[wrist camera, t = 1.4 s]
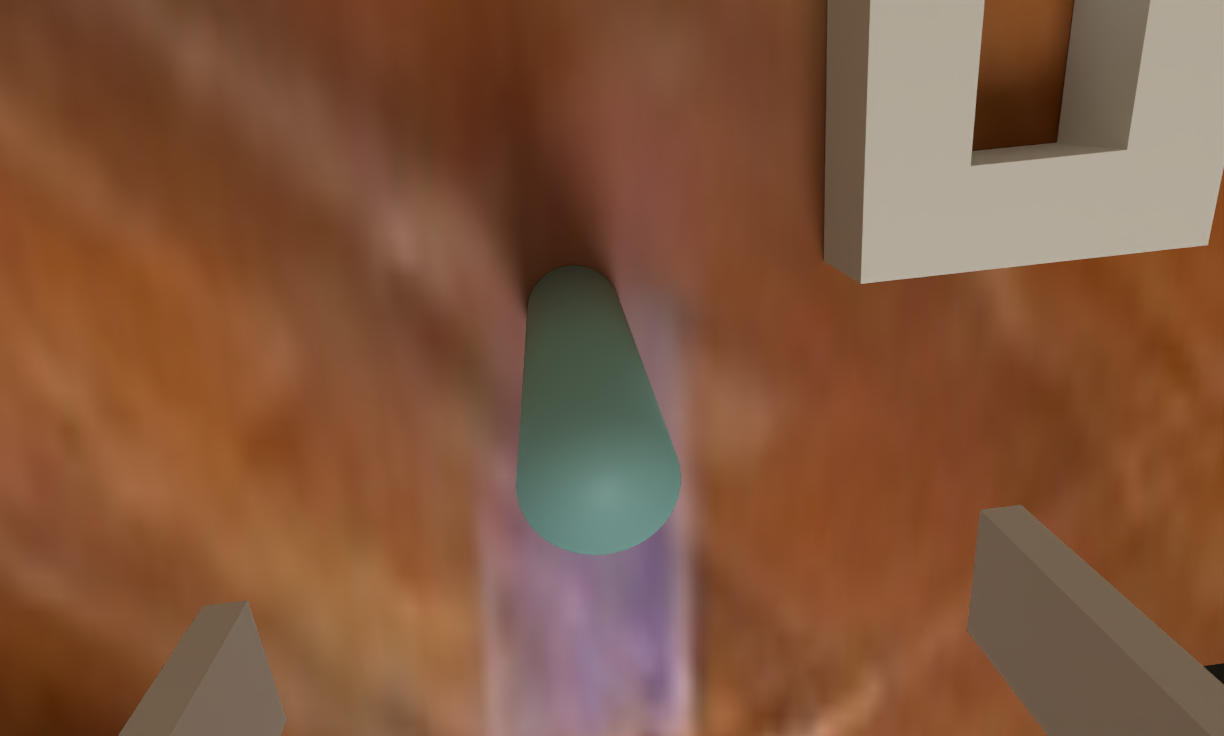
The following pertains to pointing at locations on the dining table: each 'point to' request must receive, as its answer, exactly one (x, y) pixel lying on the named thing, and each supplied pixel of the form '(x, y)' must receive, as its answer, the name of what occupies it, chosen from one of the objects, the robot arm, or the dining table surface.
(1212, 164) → the socket block
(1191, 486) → the dining table surface
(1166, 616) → the dining table surface
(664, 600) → the dining table surface
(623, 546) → the peg
